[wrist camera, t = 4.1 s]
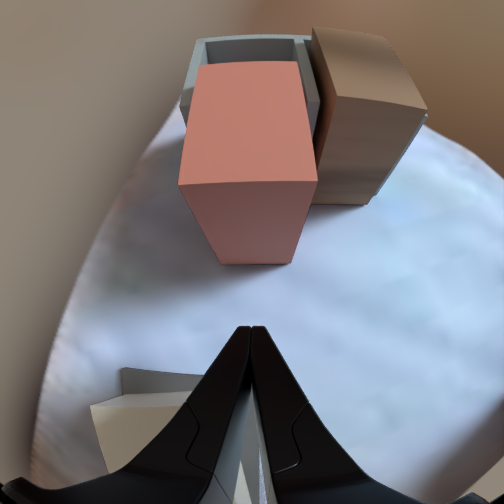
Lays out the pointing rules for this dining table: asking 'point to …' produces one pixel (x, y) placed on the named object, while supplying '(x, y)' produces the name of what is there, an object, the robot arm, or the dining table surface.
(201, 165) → the salmon pink block
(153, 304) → the dining table surface
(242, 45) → the socket block
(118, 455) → the cream rectangular block
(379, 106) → the walnut plug
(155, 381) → the rubber mat
